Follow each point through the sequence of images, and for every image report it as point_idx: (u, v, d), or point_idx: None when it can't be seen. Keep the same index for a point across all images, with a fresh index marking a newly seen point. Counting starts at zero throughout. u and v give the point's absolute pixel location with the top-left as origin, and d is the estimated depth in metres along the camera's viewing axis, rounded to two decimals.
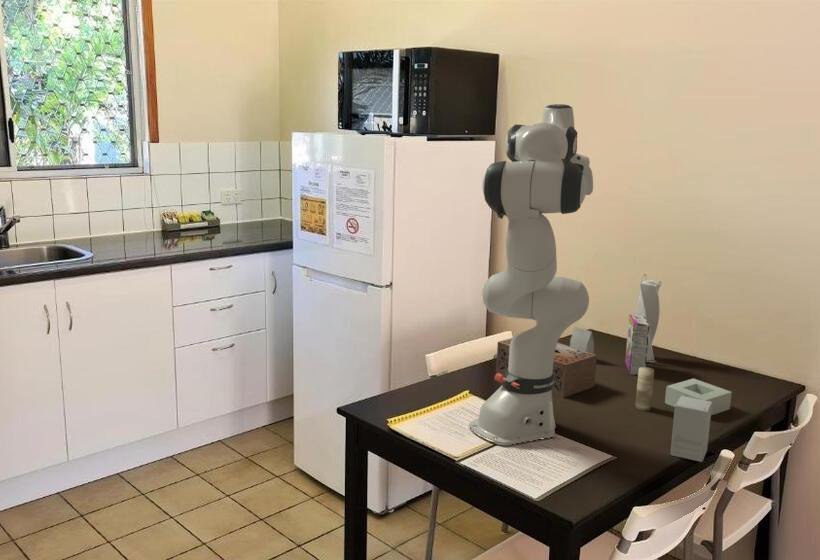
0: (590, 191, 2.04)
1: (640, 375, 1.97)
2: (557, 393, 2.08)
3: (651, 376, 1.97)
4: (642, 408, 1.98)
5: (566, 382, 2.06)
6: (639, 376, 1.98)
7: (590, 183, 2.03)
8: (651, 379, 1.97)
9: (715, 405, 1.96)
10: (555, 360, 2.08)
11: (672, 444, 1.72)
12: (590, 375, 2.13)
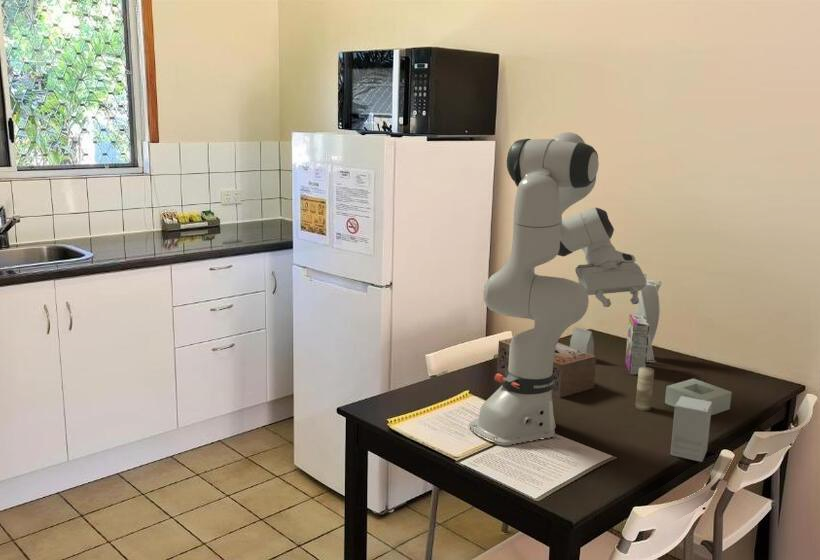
0: (645, 280, 2.11)
1: (640, 375, 1.97)
2: (554, 393, 2.07)
3: (651, 376, 1.97)
4: (642, 408, 1.98)
5: (562, 382, 2.06)
6: (639, 376, 1.98)
7: (642, 272, 2.12)
8: (651, 379, 1.97)
9: (715, 405, 1.96)
10: None
11: (672, 444, 1.72)
12: (589, 376, 2.12)
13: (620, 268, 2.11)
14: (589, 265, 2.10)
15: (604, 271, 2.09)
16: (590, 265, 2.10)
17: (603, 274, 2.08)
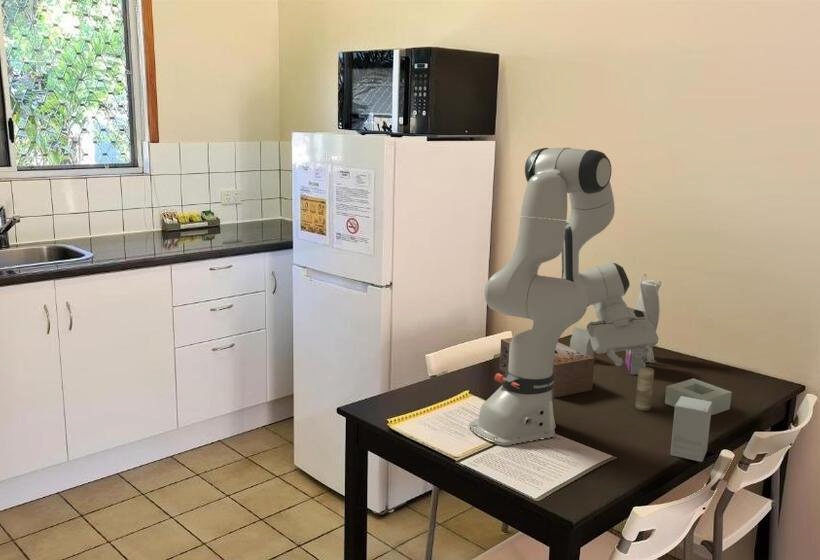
0: (657, 338, 2.07)
1: (640, 375, 1.97)
2: None
3: (651, 376, 1.97)
4: (642, 408, 1.98)
5: (556, 382, 2.06)
6: (639, 376, 1.98)
7: (654, 329, 2.08)
8: (651, 379, 1.97)
9: (715, 405, 1.96)
10: None
11: (672, 444, 1.72)
12: (586, 378, 2.11)
13: (632, 325, 2.07)
14: (600, 322, 2.07)
15: (616, 329, 2.06)
16: (601, 322, 2.07)
17: (614, 331, 2.05)
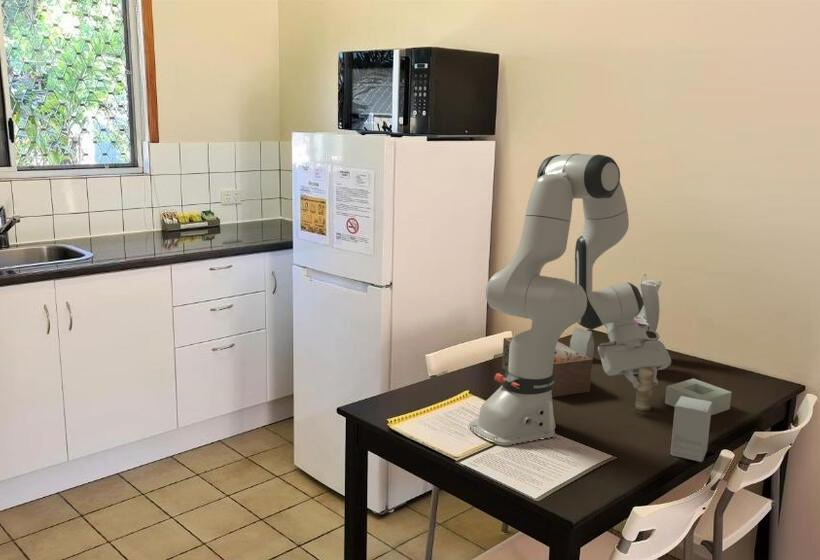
0: (670, 359, 2.03)
1: (640, 375, 1.97)
2: None
3: (651, 376, 1.97)
4: (642, 408, 1.98)
5: None
6: (639, 376, 1.98)
7: (666, 351, 2.04)
8: (651, 379, 1.97)
9: (715, 405, 1.96)
10: None
11: (672, 444, 1.72)
12: (583, 379, 2.10)
13: (644, 346, 2.03)
14: (612, 343, 2.02)
15: (627, 350, 2.01)
16: (613, 343, 2.03)
17: (626, 353, 2.01)
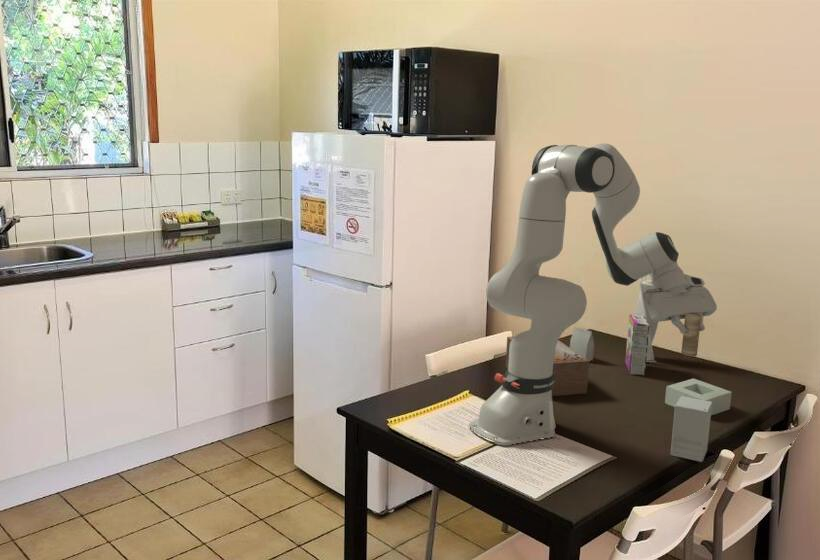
0: (715, 305, 2.02)
1: (687, 320, 1.96)
2: None
3: (698, 321, 1.95)
4: (689, 354, 1.97)
5: None
6: (686, 322, 1.97)
7: (712, 297, 2.03)
8: (698, 324, 1.95)
9: (715, 405, 1.96)
10: None
11: (672, 444, 1.72)
12: (580, 380, 2.09)
13: (689, 293, 2.02)
14: (657, 290, 2.01)
15: (673, 296, 2.00)
16: (658, 290, 2.01)
17: (672, 299, 1.99)
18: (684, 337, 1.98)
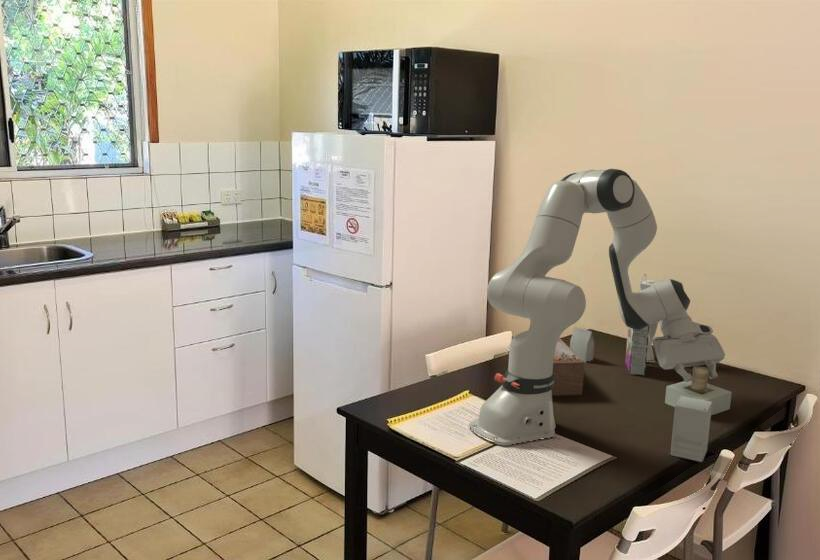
0: (723, 353, 2.05)
1: (695, 374, 1.99)
2: None
3: (706, 375, 1.99)
4: None
5: None
6: (694, 375, 2.00)
7: (720, 345, 2.06)
8: (706, 378, 1.99)
9: (715, 405, 1.96)
10: None
11: (672, 444, 1.72)
12: (574, 382, 2.08)
13: (698, 340, 2.05)
14: (666, 337, 2.04)
15: (682, 344, 2.03)
16: (667, 337, 2.04)
17: (681, 347, 2.02)
18: (692, 390, 2.01)
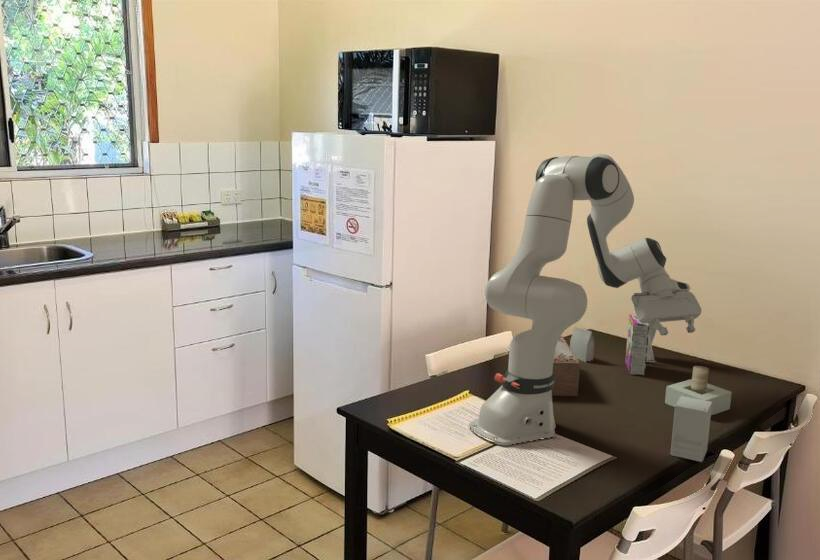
0: (700, 309, 2.11)
1: (695, 374, 1.99)
2: None
3: (706, 375, 1.99)
4: None
5: None
6: (694, 375, 2.00)
7: (697, 301, 2.12)
8: (706, 378, 1.99)
9: (715, 405, 1.96)
10: None
11: (672, 444, 1.72)
12: (570, 382, 2.07)
13: (675, 296, 2.11)
14: (645, 293, 2.11)
15: (660, 300, 2.10)
16: (646, 293, 2.11)
17: (659, 302, 2.09)
18: (692, 390, 2.01)
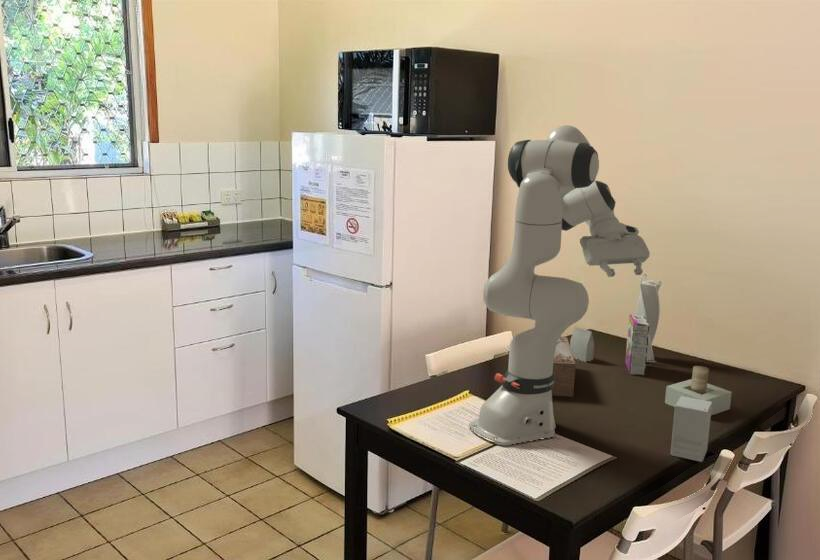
0: (648, 252, 2.14)
1: (695, 374, 1.99)
2: None
3: (706, 375, 1.99)
4: None
5: None
6: (694, 375, 2.00)
7: (645, 244, 2.15)
8: (706, 378, 1.99)
9: (715, 405, 1.96)
10: None
11: (672, 444, 1.72)
12: (565, 383, 2.07)
13: (624, 240, 2.14)
14: (593, 237, 2.13)
15: (608, 242, 2.12)
16: (594, 237, 2.13)
17: (607, 245, 2.11)
18: (692, 390, 2.01)
